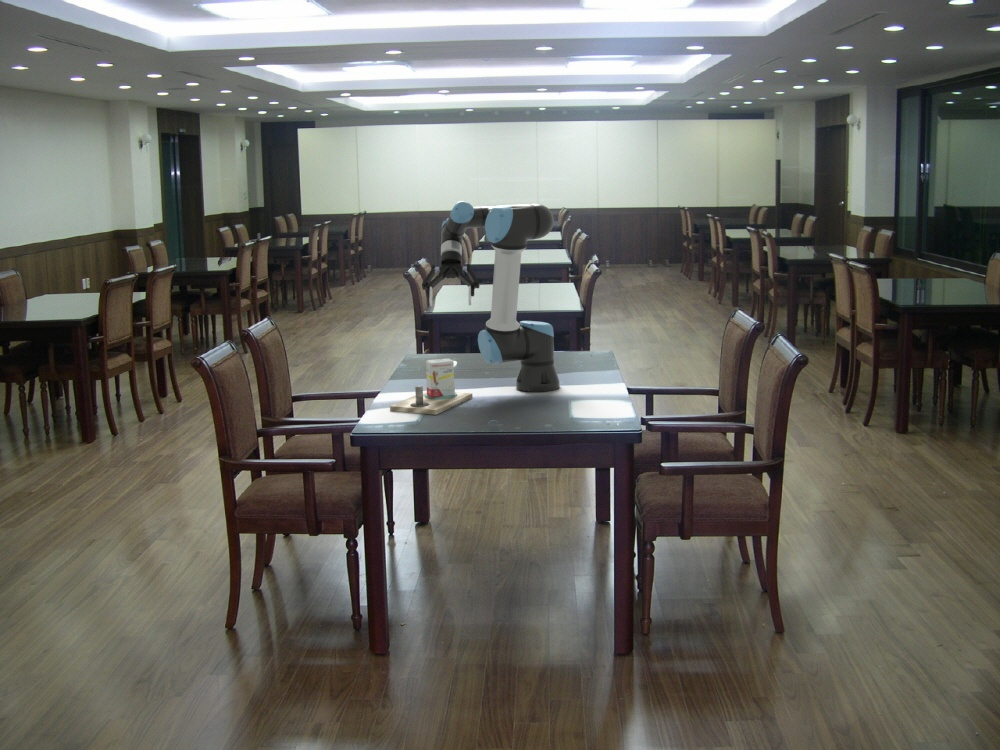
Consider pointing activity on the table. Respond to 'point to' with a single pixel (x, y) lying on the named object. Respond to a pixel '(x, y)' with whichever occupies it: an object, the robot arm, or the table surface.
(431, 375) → the ink box
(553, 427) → the table surface
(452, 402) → the board
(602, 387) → the table surface
